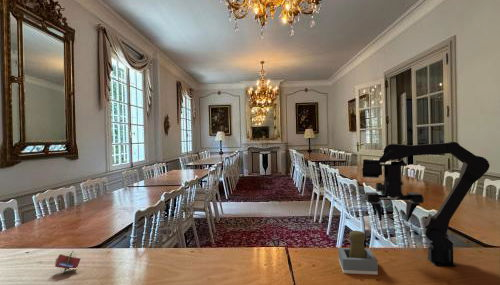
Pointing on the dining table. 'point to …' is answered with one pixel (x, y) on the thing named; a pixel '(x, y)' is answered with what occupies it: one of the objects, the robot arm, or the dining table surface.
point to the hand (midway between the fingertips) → (393, 221)
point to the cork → (357, 244)
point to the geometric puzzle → (67, 261)
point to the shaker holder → (358, 262)
